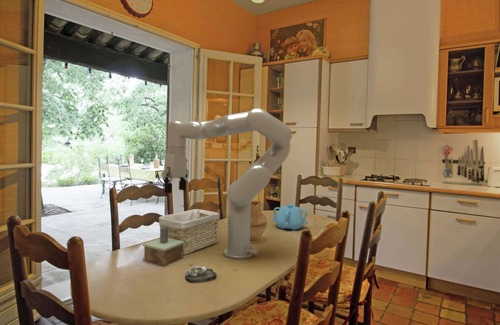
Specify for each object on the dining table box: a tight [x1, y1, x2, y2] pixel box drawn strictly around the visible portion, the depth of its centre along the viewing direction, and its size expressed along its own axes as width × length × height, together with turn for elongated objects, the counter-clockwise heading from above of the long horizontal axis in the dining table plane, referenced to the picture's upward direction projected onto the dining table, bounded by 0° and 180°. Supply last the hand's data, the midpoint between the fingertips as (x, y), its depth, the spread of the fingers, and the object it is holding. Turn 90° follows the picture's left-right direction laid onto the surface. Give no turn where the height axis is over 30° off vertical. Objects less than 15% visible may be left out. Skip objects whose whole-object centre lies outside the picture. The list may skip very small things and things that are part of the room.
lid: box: [142, 227, 185, 251], centre depth 128 cm, size 11×11×8 cm
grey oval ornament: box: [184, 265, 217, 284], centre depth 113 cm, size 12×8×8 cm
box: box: [143, 244, 184, 267], centre depth 129 cm, size 11×11×6 cm
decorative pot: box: [272, 203, 308, 231], centre depth 182 cm, size 16×16×14 cm
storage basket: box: [158, 208, 220, 256], centre depth 145 cm, size 24×16×15 cm
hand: (175, 191), depth 135 cm, fingers open, 9 cm apart
